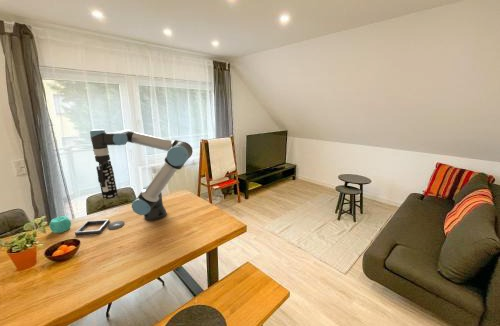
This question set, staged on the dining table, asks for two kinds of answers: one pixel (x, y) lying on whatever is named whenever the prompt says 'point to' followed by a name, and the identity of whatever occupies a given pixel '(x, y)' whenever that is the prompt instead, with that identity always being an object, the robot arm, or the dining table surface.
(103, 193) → the spotted tube
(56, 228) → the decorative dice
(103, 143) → the robot arm
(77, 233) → the grey square frame
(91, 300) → the dining table surface
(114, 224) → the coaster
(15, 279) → the dining table surface
